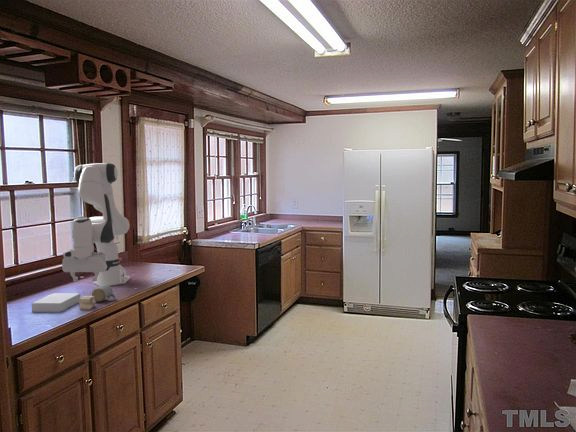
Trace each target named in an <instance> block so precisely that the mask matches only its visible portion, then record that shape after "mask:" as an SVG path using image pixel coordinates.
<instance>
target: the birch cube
mask: <svg viewBox="0 0 576 432" xmlns="http://www.w3.org/2000/svg"><path fill="white" fill-rule="evenodd" d="M95 302H96V301H95V300H94V296H92V295H84V296H81V297H80V299H79V302H78V305H79V306H78V308H79V310H91V309H92V308H94V307H95V306H96V305H95Z"/></svg>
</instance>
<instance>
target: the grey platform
mask: <svg viewBox="0 0 576 432" xmlns="http://www.w3.org/2000/svg"><path fill="white" fill-rule="evenodd" d="M80 298H81V293H80V292H79V293H78V292H77V293H76V292H68V293H67V292H65V293H64V292H62V293H61V292H60V293H59V292H53V293H51V294H49V295H46V296H44V297H41V298H40V299H38V300H35V301H34V302H32V303H31V312H34V313H35V312H38V313H39V312H43V313H44V312H45V313H48V312H51V313H59V312H60V313H61V311H62V312H63V311H65V310H67V309H69V308H71V307H72V306H75V305H77V304H79V299H80Z"/></svg>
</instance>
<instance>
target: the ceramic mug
mask: <svg viewBox="0 0 576 432" xmlns="http://www.w3.org/2000/svg"><path fill="white" fill-rule="evenodd" d="M111 286H112V285H111ZM111 286H110V285H108V284H102V285H100V286H97V287H95V288H94V290H92V291H91V296H94V301H95V302H98V303H101V302H104V301H108V302H114V301H115V300H116V298H117V295H115V294H114V293H113V292H114V291H113V288H112V287H111ZM111 297H112V298H111Z"/></svg>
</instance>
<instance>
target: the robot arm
mask: <svg viewBox="0 0 576 432" xmlns="http://www.w3.org/2000/svg"><path fill="white" fill-rule="evenodd" d="M118 174H119V171H118V168H117V166H116V165H115V164H114V163H110V162H109V163H108V162H107V163H101V162H100V163H98V162H95V163H87V164H79V165H77V166H75V168H74V171H73V176H74V180H75V181H76V183H78V197H80V199H81V200H82V201H83V202H85V203H86V204H89V205H92V206H93V208H94V209H95V210H96V211H98V212H100V213H101V214H102V216H91V217H86V216H85V217H77V218H75V219H73V223H72V233H71V234H72V240H73V245H72V247H73V248H72V249H70V250H67V251H64V252H63V253H62V256H63V258H62V262H61V263H62V264H61V266H62V269H61V270H62V271H63V272H64V273H70V276H71V277H72V280H73V281H72V282H78V281H79V277H78V276H76V273H93V274H94V277H92V279H91V280H92V283H93V284H94V285H96V286H97V287H99V286H100V285H102V284H108V285H110V286H117V285H122V284H126V283H127V282H128V281H129V280H130V279H131V276H128V275H127V273H126V268H124V267H123V265H121V261H122V257H119V247H118V245H117V243H116V242H114V240H115V238H116V236H121V235H125V234H127V233H128V231H129V230H130V226H131V225H130V221H129V220H128V218H127V217H125V216H124V215H123V214H121V213H120V211H119V210H118V208H117V206H116V204H115V199H114V192H113V186H112V184H113V183H114V182H116V181H117V180H118V176H119V175H118ZM94 244H95V245H94ZM94 246H95V247H96V251H97V252H96V251H95V247H94Z"/></svg>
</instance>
